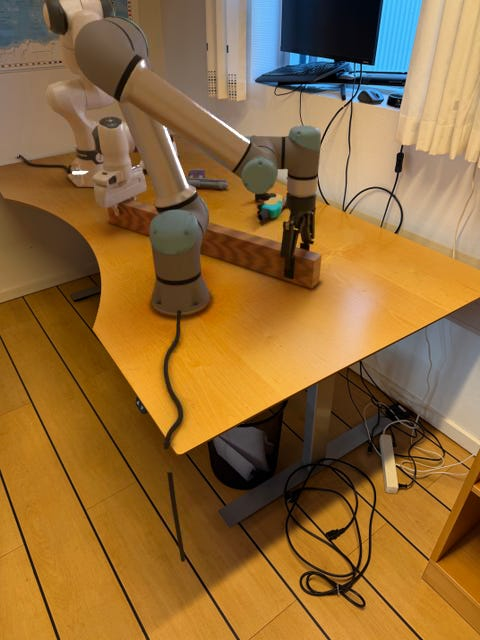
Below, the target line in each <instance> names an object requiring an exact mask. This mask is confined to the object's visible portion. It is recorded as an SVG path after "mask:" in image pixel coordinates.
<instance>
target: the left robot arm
mask: <svg viewBox="0 0 480 640" xmlns="http://www.w3.org/2000/svg"><path fill="white" fill-rule="evenodd" d="M42 15H43V19H44V22H45V24H46V25H47V28H48V30H49V31H51V32H52V33H53V34H55V35H59V43H60V54H61V62H62V64H63V66H64V67H65V69H67V70H68V71H69V72H70V73H72V74H74V75H76V76H79V78H76V79H67V80H59V81H56V82H54V83H51V84H49V85H48V86H47V88H46V91H45V100H46V102H47V104H48V106H49V108H50V109H51V110H52V111H53V112H55V113H57V114H58V115H60V116H61V117H62V118H64V119H65V121H66V122H67V123H68V124H69V126H70V128H71V131H72V133H73V136H74V140H75V144H76V147H75V156H76V157H75V158H74V159H73V161H72V162H71V163H70V164H69V165H68V166H67V165H64V164H47V163H46V164H45V163H44V164H43V163H33V162H30V161H29V160H28V159H26V158H25V157H24V156H23V155H22V154H18V155H19V157H18V155H17V157H16V158H17V159H20V158H21V160H23V161H24V162H25V163H26V164H27V165H29V166H32V167H47V168H64V169H65V171H66V172H67V173H68V175H67V178H68V179H69V180H70V182H72V183H73V184H74V185H75V186H76V187H78V188H84V187H88V188H93V194H94V201H95V204H96V206H97V207H98V208H100V209H103V210H108V209H107V208H109V207H111V208H112V209H113V210H114V213H115V215H116V216H120V215H121V214H122V213H121V210H119V209H118V208H117V207H118V203H120V202H122V201H125V200H127V199H130V200H134V201H137V196H138V195H141V194H142V193H145V192H146V191H147V188H148V187H147V186H148V185H147V181H146V177H145V173H144V170H143V169H142V167H141V166H140V164H134V165H132V160H131V159H132V158H131V157H130V154H132V153H133V154H136V153H137V154H139V152H138V150H137V147H136V145H135V142H134V140H133V138H132V135H131V133H130V131H129V128H128V126H127V123H126V121H123V119H121V118H120V117H117V116H105V117H102V118H100V119H99V120H98V122H97V121H96V120H95V119H91V118H89V117H86V115H85V112H86V111H92V110H99V109H103V108H106V107H109V106H112V105H113V103H114V101H115V99H114V98H113V97H111V96H109V95H107V93H105V92H104V91H102V90H101V89H99V88H98V87H97V86H95V85H94V84H93V83H92V82H91V81H89V80H88V79H87V78H86V77H85V76H84V74H83V73H82V71H81V70H80V68H79V66H78V64H77V62H76V58H75V53H74V44H75V39H76V37H77V34H78V32H79V31H80V29H81V28H82V27H83V26H84V25H86V24H87V23H89V22H92V21H95V20H101V19H104V18H106V17H111V16H116V13H115V9H114V6H113V3H112V2H111V1H110V0H44V1H43V8H42Z"/></svg>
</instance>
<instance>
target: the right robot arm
mask: <svg viewBox="0 0 480 640" xmlns="http://www.w3.org/2000/svg"><path fill="white" fill-rule="evenodd" d="M149 51H150V50H149V42H148V39H147V37H146V34H145V33H144V31H143V30H142V28H141V27H140V26H139V25H138V24H137V23H135V22H134V21H133V20H131V19H129V18H127V17H124V16H119V15H115V16H111V17H106V18H104V19H101V20H95V21H92V22H89V23H87V24H86V25H84V26H83V27H82V28H81V29H80V31H79V32H78V34H77V37H76V39H75V44H74V53H75V58H76V62H77V64H78V66H79V68H80V70H81V71H82V73H83V74H84V76H85V77H86V78H87V79H88V80H89V81H91V82H92V83H93V84H94V85H95V86H97V87H98V88H99V89H101V90H102V91H104V92H105V93H107V95H109V96H111V97H113V98H114V100H116V102H117V104H118V107H119V109H120V111H121V114H122V116H123V118H124V122H126V123H127V126H128V128H129V131H130V133H131V135H132V138H133V140H134V142H135V145H136V147H137V150H138V152H139V153H138V155H139V157H140V159H141V160H142V162H143V164H144V166H145V169H146V170H145V171H146V173H147V176H148V179H149V181H150V183H151V185H152V188H153V191H154V193H155V195H156V198H155V200H154V202H153V204H154V205H153V206H155V208H156V210H157V212H158V215H157V216H156V217H155V218H154V219H153V220H152V221H151V223H150V233H149V235H148V237H149V241H150V245H151V253H152V260H153V261H152V262H153V268H154V274H155V275H154V276H155V281H154V284H153V290H152V294H151V305H152V308H153V310H154V311H155V312H156V313H157V314H159V315H160V316H163V317H167V318H171V319H176V325H175V326H176V332H175V337H174V340H173V342H172V343H171V346H169V348H168V350H167V351H166V354H165V356H164V360H163V377H164V382H165V386H166V390H167V391H168V394H169V395H170V398H171V399H172V400H173V402H174V404H175V407H176V408H177V418H176V420H175V422H174V423H173V424H172V425H171V427H170V428H169V429H168V431H167V433H166V434H165V437H164V442H163V449H164V450H168V449H169V448H170V442H171V438H172V436H173V434H174V432H175V431H176V430H177V429H178V427H179V426H180V425H181V424H182V421H183V418H184V409H183V405H182V402H181V401H180V400H179V398H178V396H177V395H176V393H175V391H174V390H173V387H172V384H171V380H170V379H171V378H170V376H169V360H170V356H171V355H172V353H173V351H174V350H175V348H176V346H177V345H178V343H179V340H180V335H181V320H182V319H183V318H185V319H186V318H190V317H194V316H196V315H199V314H201V313H202V312H204V311H205V310H207V308H208V307H209V306H210V303H211V294H210V293H211V292H210V290H209V288H208V286H207V284H206V281H205V278H204V277H203V275H202V262H201V261H202V259H201V253H200V247H201V244H202V241H203V238H204V235H205V232H206V229H207V227H208V223H209V222H210V213H209V208H208V206H207V204H206V202H205V201H204V199H203V198H202V197H200V196H199V194H198V190H197V187H193V186H191V185H189V184H188V183H187V178H186V175H185V173H184V170H183V167H182V165H181V164H182V163H181V162H180V159H179V155H178V156H177V154H178V153H177V154H176V151H175V148H174V146H173V143H172V140H171V138H170V135H171V134H170V132H172V133H173V134H174V135H176V136H178V137H179V138H181V139H182V140H184V141H185V142H187V143H188V144H189V145H191V146H193V147H194V148H196V149H197V150H198V151H200V152H201V153H203V154H205V155H206V156H207V157H209V158H210V159H212V160H214V161H215V162H216V163H218V164H219V165H220V166H222V167H223V168H225V169H226V170H228V171H229V172H231V173H232V174H234V175H235V176H237V177H238V178H239V179H241V182H242V184H243V187H244V188H245V189H246V190H247V191H248V192H250V193H252V194H254V195H255V194H262V193H269V191H271V190H272V189H273V188H274V186H275V185H276V182H277V178H278V176H279V175H278V174H279V170H287V176H286V195H285V197H286V206H285V207H286V208H287V209H288V210H289V216H288V220H287V221H286V220H284V221H283V222H282V237H281V238H282V239H281V243H282V244H281V252H280V257H281V258H284V259H285V264H284V277H286V278H289V279H292V280H293V279H294V268H295V257H293V256H294V252H295V248H296V247H297V243H298V239H299V235H300V240H301V242H300V243H299V248H301V249H305V250H308V251H311V250H310V248H311V246H313V245H314V244H315V241H314V239H315V236H316V235H315V234H316V231H315V229H316V211H317V207H316V206H317V205H316V204H317V203H316V202H317V192H318V181H319V180H318V179H319V170H320V169H319V168H320V160H321V159H320V158H321V157H320V156H321V151H322V150H321V142H322V139H321V138H322V133H321V131H320V129H319V128H317V127H316V126H311V125H296V126H292V127H290V129H289V131H288V132H289V133H288V134H287V135H284V136H279V135H277V136H276V135H275V136H273V135H271V136H270V135H269V136H268V135H256V134H255V135H247V136H244V135H243V134H241V133H239V131H237V130H235V129H234V128H232V127H231V126H230V125H228V124H227V123H225V121H223V120H222V119H220V118H219V117H217V116H215V115H214V114H213V113H212V112H210V111H209V110H207V109H205V107H203V106H202V105H201V104H199V103H197V102H196V101H195V100H193V99H192V98H190V97H189V96H188V95H186V94H185V93H184V92H182V91H180V90H179V89H178V88H176V87H175V86H173V85H172V84H171V83H169V82H168V81H167V80H165V79H164V78H162V77H161V76H159V75H158V74H156V73H155V72H154V71H153V68H152V66H151V63H150V59H149V55H150V53H149ZM169 131H170V132H169ZM310 245H311V246H310ZM166 473H167V482H168V491H169V497H170V503H171V504H170V505H171V510H172V516H173V523H174V527H175V534H176V538H177V544H178V550H179V557H180V561H181V562H182V563H183V562H185V561H186V556H185V549H184V544H183V543H184V542H183V537H182V530H181V525H180V520H179V514H178V506H177V498H176V491H175V483H174V475H173V472H169V471H168V472H167V471H166Z"/></svg>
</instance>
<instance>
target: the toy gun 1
mask: <svg viewBox="0 0 480 640" xmlns="http://www.w3.org/2000/svg"><path fill="white" fill-rule="evenodd" d="M187 175H188V177H187V178H186V180H187V183H188V184H189V185H191V186H193V187H195V188H196V189H197V188H198V189H212V190H213V189H216V190H227V188H228V186H229V184H228V180H227V179H220V178H219V179H218V178H216V179H215V178H206V172H205V169H201V168H196V169H195V168H194V169H190V170H189V171H188V174H187Z"/></svg>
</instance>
